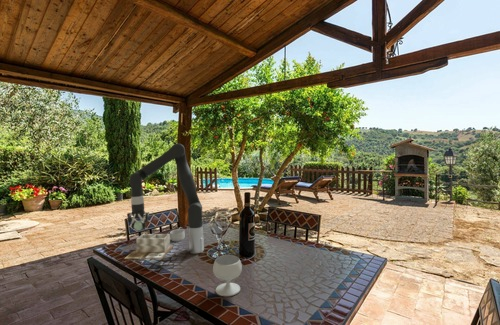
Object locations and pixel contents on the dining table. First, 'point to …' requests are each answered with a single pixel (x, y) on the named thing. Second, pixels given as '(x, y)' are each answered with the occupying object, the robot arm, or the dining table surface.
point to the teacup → (177, 235)
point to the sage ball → (138, 225)
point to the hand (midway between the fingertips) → (139, 228)
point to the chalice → (227, 274)
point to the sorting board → (151, 247)
